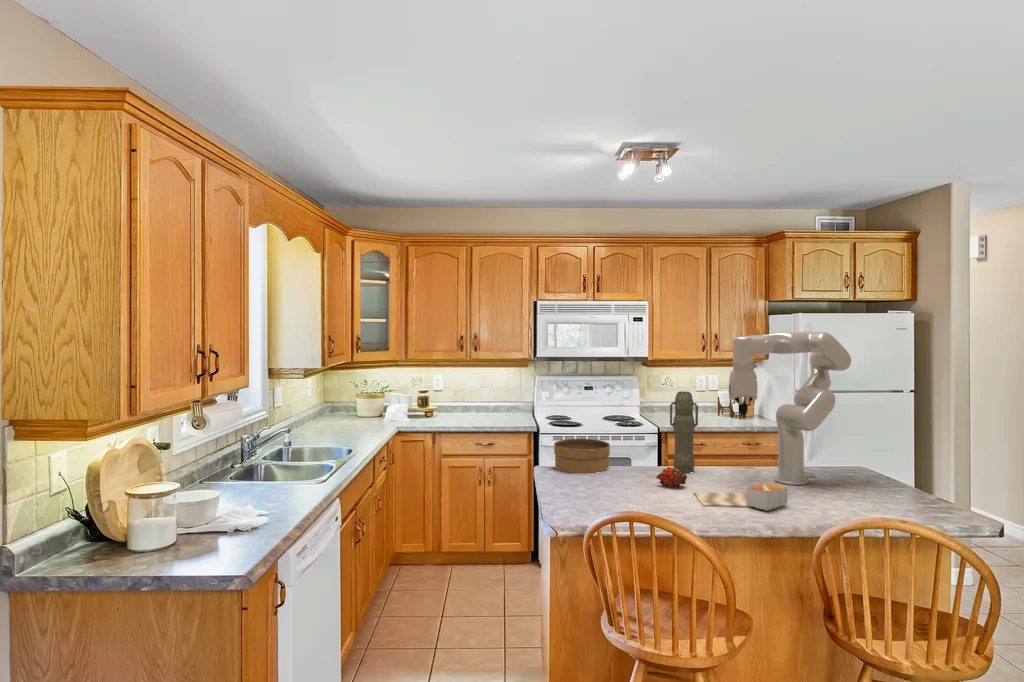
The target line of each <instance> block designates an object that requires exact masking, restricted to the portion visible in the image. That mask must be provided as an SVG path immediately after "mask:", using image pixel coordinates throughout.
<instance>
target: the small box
mask: <svg viewBox="0 0 1024 682" xmlns="http://www.w3.org/2000/svg"><path fill="white" fill-rule="evenodd" d="M788 488H789V487H788V486H784V485H781V484H776V483H775V484H774V483H770V482H767V481H766V482H763V483H760V484H757V485H752V486H749V487H746V494H747V499H746V505H748V506H752V507H755V509H759V510H762V511H763V510H764V511H770V510H773V509H776V508H779V507H782V506H785V505H788Z"/></svg>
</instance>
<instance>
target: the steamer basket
mask: <svg viewBox="0 0 1024 682" xmlns="http://www.w3.org/2000/svg"><path fill="white" fill-rule="evenodd" d="M610 450H611V447H610V443H609V442H607V441H604V440H599V439H589V438H571V439H570V438H568V439H562V440H557V441H556V442H554V444H553V451H554V452H553V453H554V455H555V456H554V460H555V461H554V464H555V465H554V466H555V467H557V469H556V470H557V471H560V472H564V473H569V474H575V473H594V474H597V473H596V472H601V473H604V472H603V471H605V472H607V471H608V470H609V469H610V468H609V467H610V464H609V463H610V460H609V459H610V458H609V456H610V453H611V451H610ZM555 467H554V468H555ZM607 468H609V469H607ZM606 470H607V471H606Z"/></svg>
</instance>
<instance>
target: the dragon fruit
mask: <svg viewBox="0 0 1024 682" xmlns="http://www.w3.org/2000/svg"><path fill="white" fill-rule="evenodd" d="M687 478H688V476H687V474H685V473H684V472H683V470H680V469H678V468H677V467H675V469H674V467H669V466H668V467H667V468H665V469H663V470H662V472H660V473H659V474H657V476H656V477H655V479H658V480H659V481H658V483H659V484H661V486H664V487H669V488H670V489H673V488H674V487H675V488H680V485H685V484H686V480H687Z"/></svg>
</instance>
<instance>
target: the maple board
mask: <svg viewBox="0 0 1024 682" xmlns="http://www.w3.org/2000/svg"><path fill="white" fill-rule="evenodd" d="M693 495H694V497H695V496H696V497H697V498H696V497H695V498H696V499H697V501H698V502H699V501H700V502H699V503H700V504H701V506H702V505H703V506H702V507H707V506H734V507H733V508H751V507H752V506H748V505H746V499H747V493H742V492H741V493H736V492H735V493H734V492H696V491H695V492H693Z"/></svg>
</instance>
